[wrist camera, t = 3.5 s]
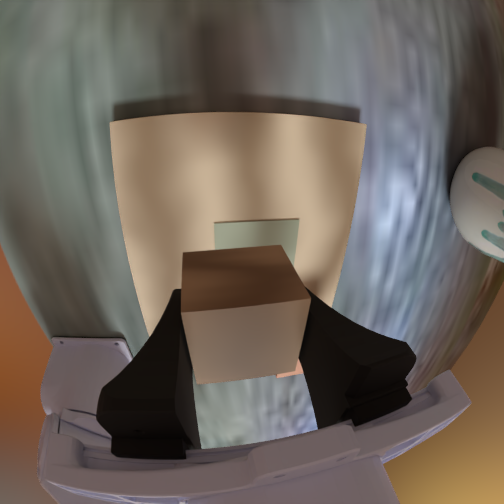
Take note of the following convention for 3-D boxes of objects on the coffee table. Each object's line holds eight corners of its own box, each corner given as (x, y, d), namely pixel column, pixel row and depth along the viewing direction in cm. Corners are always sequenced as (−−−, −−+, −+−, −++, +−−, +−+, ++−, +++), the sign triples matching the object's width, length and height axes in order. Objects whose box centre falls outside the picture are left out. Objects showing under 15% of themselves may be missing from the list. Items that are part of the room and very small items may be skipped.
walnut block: (193, 324, 15) (197, 384, 11) (182, 252, 12) (180, 312, 9) (274, 315, 15) (295, 370, 12) (281, 244, 13) (311, 298, 10)
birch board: (160, 359, 27) (159, 367, 26) (113, 121, 15) (109, 122, 14) (315, 342, 31) (319, 348, 30) (359, 122, 18) (367, 124, 17)
